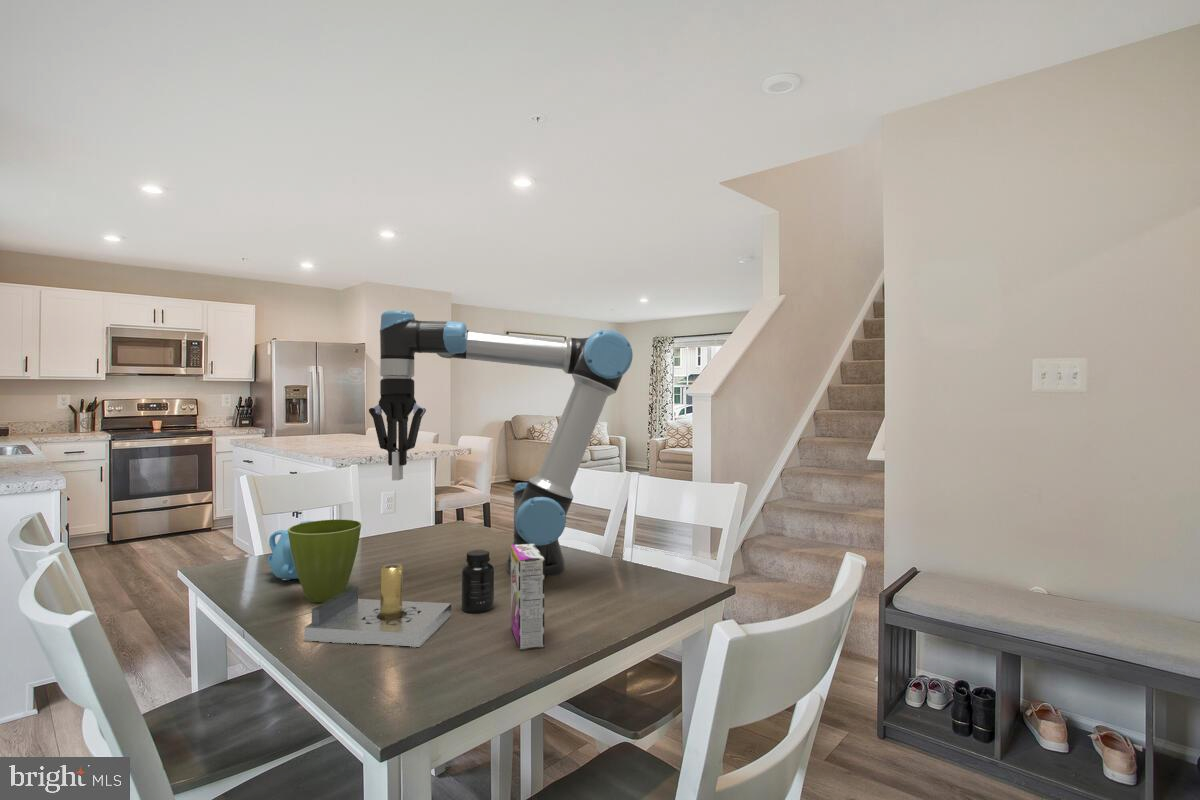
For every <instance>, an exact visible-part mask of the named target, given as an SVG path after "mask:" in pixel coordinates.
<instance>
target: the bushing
mask: <svg viewBox="0 0 1200 800" xmlns="http://www.w3.org/2000/svg"><path fill="white" fill-rule="evenodd" d="M403 569H404V568H403V565H402V564H401V563H389V564H384V565H382V566H380V600H381V601H380V620H384V621H391V620H398V619H401V618H402V601H403Z"/></svg>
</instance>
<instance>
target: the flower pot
mask: <svg viewBox="0 0 1200 800" xmlns="http://www.w3.org/2000/svg"><path fill="white" fill-rule="evenodd" d="M311 521H312V522H306V523H301V524H300V523H298V524H295V525H293V526H291V527H289V528H287V530H288V535H289V541H290V547H291V552H292V557H293V561H294V565H295V568H296V572H297V575H298V578H299V579H298V580H299V583H300V586H301V589H302V591H303V592H304V596H305V598H306V600H307V601H309V602H310V603H311V602H312V603H324V602H325V601H327V600H329V599H330V598H332V597H334V596H336V595H337V594H339V593H341V592H342V591H344V590H346V589H347V585H348V584H349V581H350V577H351V575H352V572H353V568H354V564H355V560H356V557H357V552H358V550H359V549H358V547H359V542H360V537H361V536H360V535H361V528H362V522H360V521H357V520H352V519H322V520H314V521H313V520H311Z"/></svg>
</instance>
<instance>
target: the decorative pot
mask: <svg viewBox="0 0 1200 800" xmlns="http://www.w3.org/2000/svg"><path fill="white" fill-rule="evenodd" d="M312 521H313V520H303V521H300V522H299V524H301V523H306V522H312ZM278 535H280V536H279V539H278V541H277V542H276V537H277V536H278ZM268 543H269V546H270V550H271V552H272V553H271V554H270V555H268V557H267V563H268V564H269V565H270V567H269V568H270V570H271V572H272V574H273V575H274V576H275V577H276V578H277V579H278V578H279V579H291V580H294V579H295V580H297V579H298V580H299V578H298V575H297V572H296V568H295V565H294V561H293V557H292V552H291V547H290V541H289V535H288V529H281V530H277V531H275V532H273V533H272V534H271V535H270V537H269V541H268Z"/></svg>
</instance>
